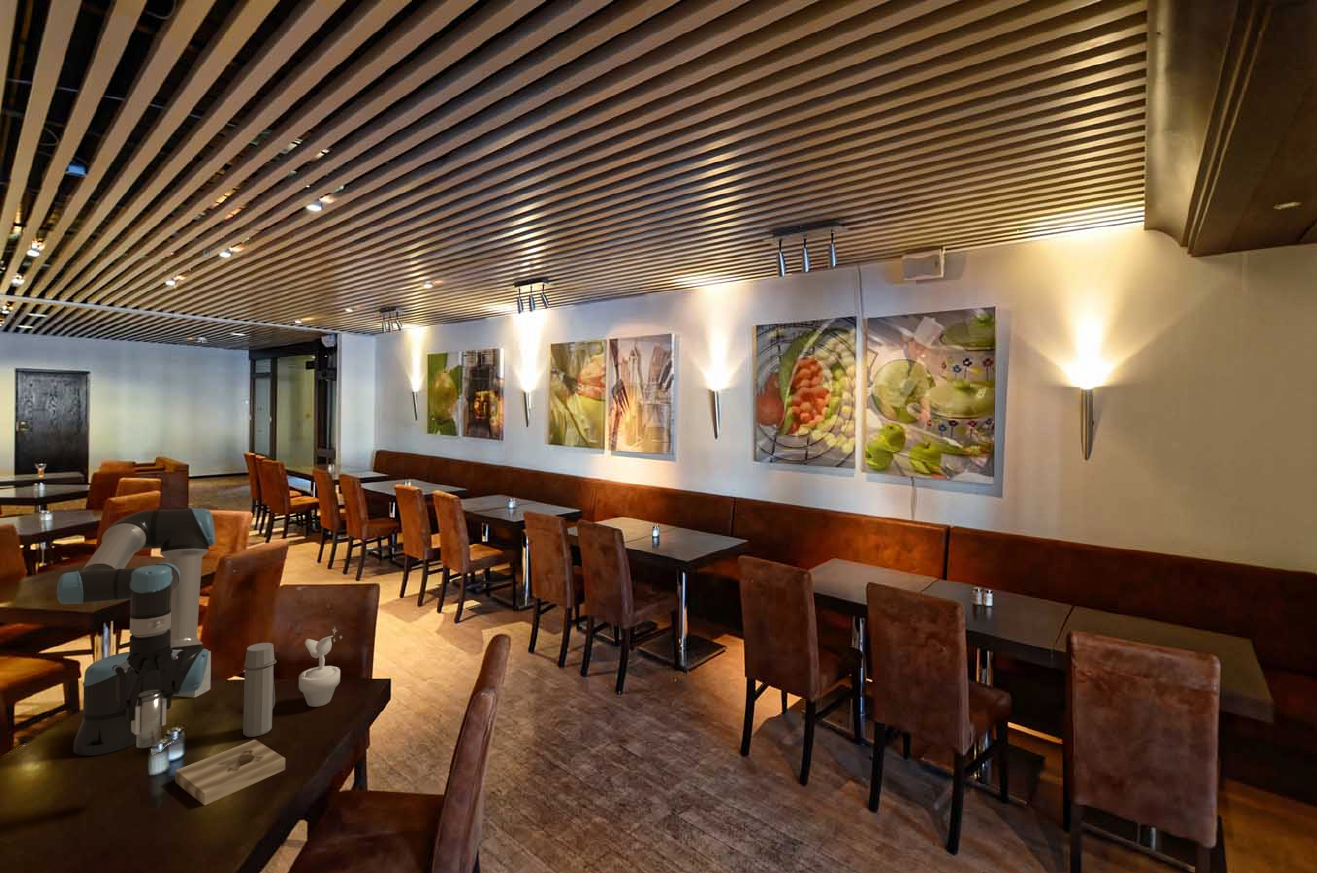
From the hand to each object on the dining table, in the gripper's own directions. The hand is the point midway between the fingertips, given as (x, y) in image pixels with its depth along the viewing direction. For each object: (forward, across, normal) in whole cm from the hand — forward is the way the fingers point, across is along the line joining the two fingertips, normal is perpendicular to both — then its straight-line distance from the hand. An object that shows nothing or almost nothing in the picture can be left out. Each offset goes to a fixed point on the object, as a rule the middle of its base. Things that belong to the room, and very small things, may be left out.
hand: (148, 727), depth 143 cm
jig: (+16, +15, -8) cm, 23 cm away
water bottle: (+17, +30, +10) cm, 36 cm away
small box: (+18, +29, +53) cm, 63 cm away
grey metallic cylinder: (+4, 0, 0) cm, 4 cm away
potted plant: (+17, +49, +14) cm, 54 cm away
